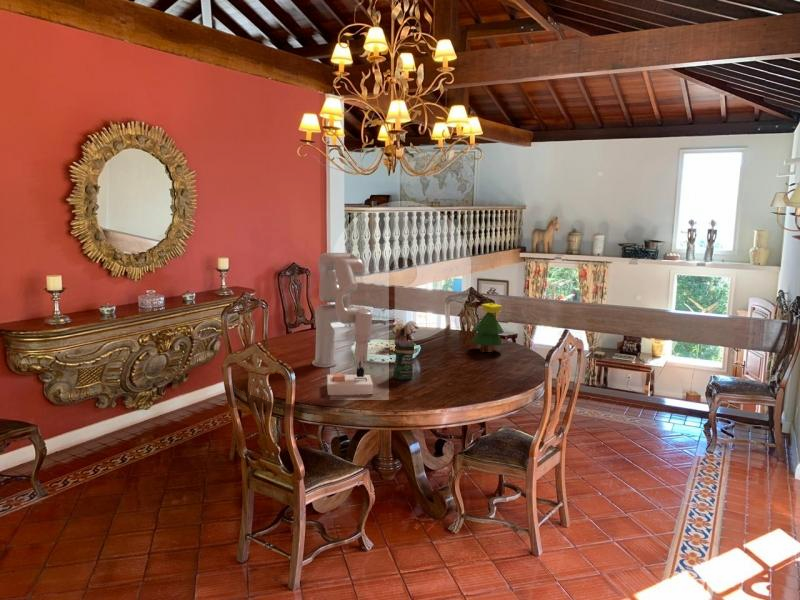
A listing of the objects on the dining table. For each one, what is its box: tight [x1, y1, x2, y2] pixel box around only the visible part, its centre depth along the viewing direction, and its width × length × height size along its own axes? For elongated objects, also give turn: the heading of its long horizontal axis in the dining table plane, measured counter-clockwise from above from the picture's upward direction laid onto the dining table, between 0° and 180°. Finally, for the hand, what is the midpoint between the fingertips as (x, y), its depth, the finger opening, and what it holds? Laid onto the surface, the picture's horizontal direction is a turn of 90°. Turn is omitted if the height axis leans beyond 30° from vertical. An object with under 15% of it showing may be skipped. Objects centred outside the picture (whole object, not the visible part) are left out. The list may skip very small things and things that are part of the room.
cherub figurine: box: [391, 318, 419, 345], centre depth 348 cm, size 18×18×18 cm
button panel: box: [326, 374, 374, 396], centre depth 273 cm, size 14×20×5 cm
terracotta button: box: [332, 373, 346, 381], centre depth 272 cm, size 5×5×3 cm
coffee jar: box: [392, 340, 415, 381], centre depth 294 cm, size 10×8×19 cm
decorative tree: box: [470, 301, 505, 353], centre depth 352 cm, size 19×19×30 cm
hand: (360, 376), depth 274 cm, fingers closed
